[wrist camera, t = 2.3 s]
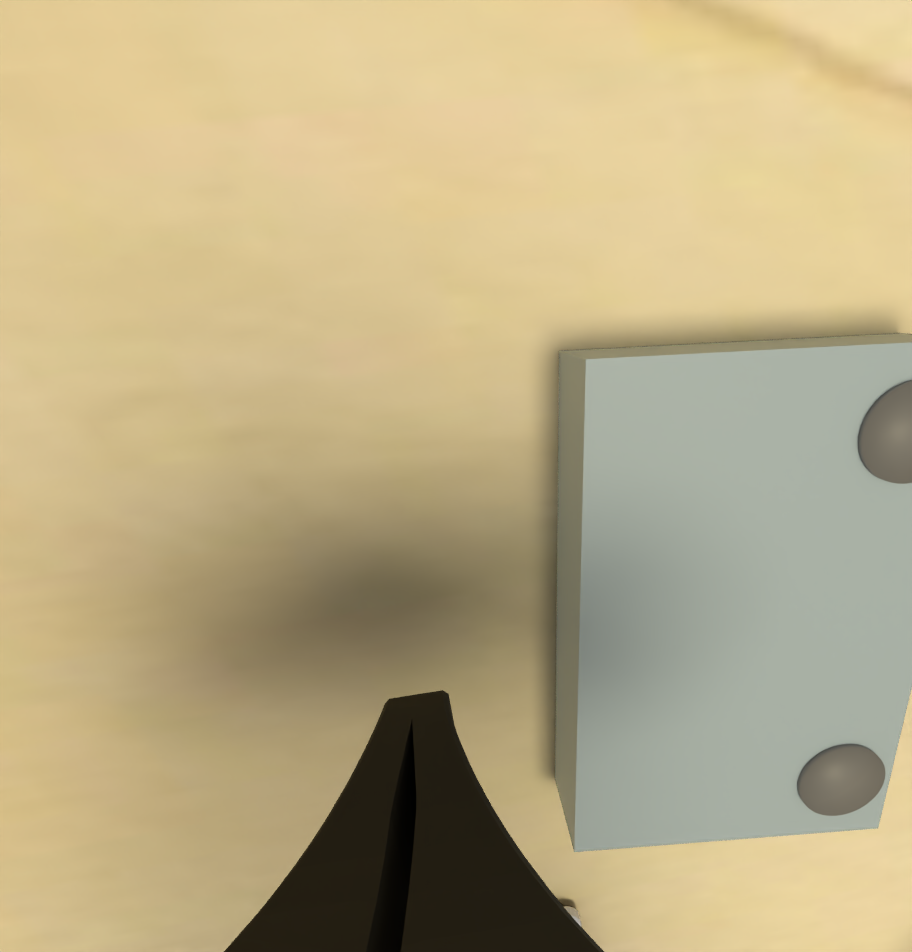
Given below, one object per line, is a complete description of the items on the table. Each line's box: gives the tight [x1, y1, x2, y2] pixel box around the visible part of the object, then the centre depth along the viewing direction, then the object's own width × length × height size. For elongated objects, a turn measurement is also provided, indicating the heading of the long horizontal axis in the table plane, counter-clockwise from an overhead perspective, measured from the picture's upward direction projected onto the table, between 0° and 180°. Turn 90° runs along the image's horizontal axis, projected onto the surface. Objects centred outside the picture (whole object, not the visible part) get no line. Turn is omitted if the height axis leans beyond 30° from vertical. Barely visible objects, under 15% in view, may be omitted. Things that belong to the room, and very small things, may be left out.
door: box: [555, 333, 912, 852], centre depth 15 cm, size 14×9×3 cm, turn 3°
